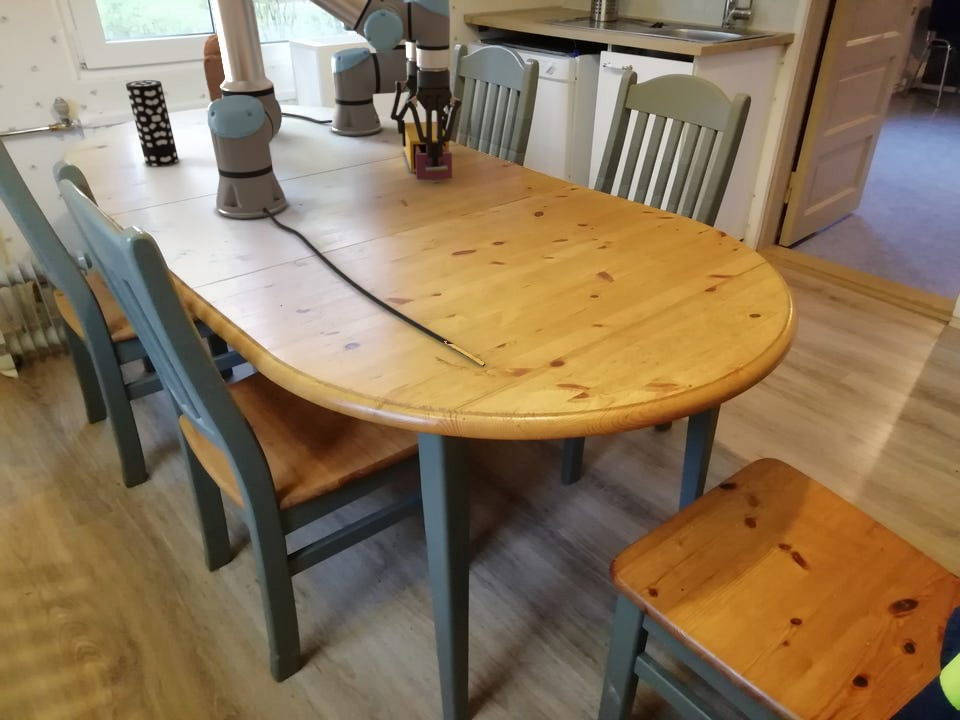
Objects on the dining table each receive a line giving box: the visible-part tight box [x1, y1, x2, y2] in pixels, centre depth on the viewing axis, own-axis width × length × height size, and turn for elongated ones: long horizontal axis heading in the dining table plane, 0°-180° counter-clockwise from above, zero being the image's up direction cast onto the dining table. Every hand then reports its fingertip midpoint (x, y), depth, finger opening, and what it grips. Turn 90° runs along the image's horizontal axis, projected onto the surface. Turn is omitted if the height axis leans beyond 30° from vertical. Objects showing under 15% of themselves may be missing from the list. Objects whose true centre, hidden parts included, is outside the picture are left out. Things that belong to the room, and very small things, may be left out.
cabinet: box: [403, 121, 450, 173], centre depth 188 cm, size 19×10×8 cm, turn 10°
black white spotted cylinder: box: [125, 79, 179, 167], centre depth 181 cm, size 8×8×20 cm
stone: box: [202, 32, 226, 104], centre depth 205 cm, size 22×11×28 cm, turn 18°
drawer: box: [413, 144, 453, 181], centre depth 177 cm, size 23×9×6 cm, turn 10°
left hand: (434, 170), depth 170 cm, fingers closed
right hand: (423, 144), depth 193 cm, fingers closed on cabinet, 10 cm apart
